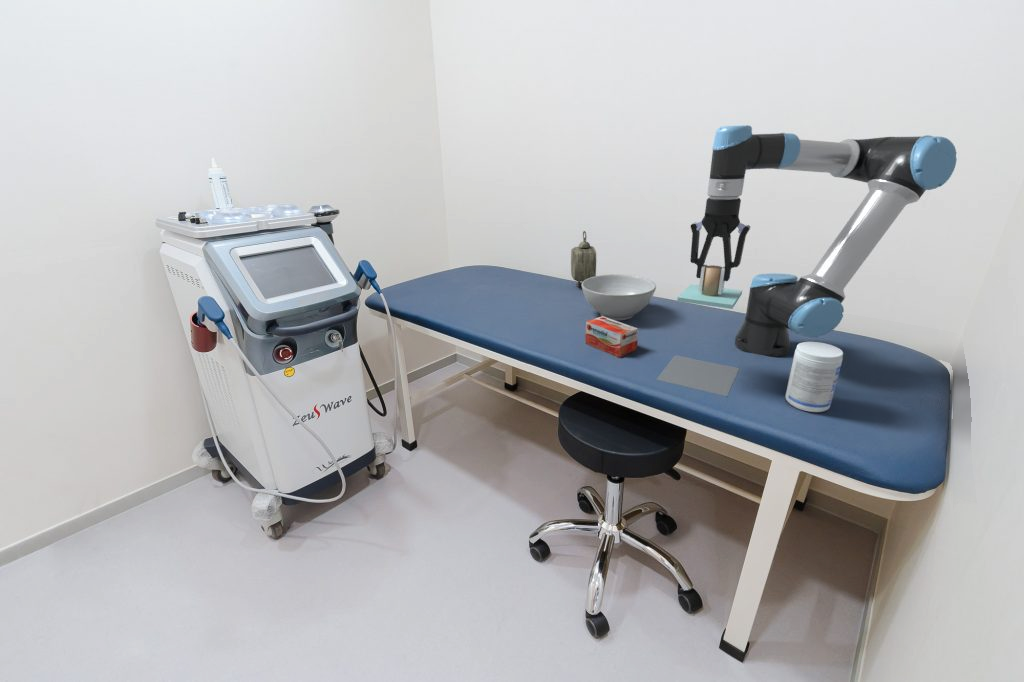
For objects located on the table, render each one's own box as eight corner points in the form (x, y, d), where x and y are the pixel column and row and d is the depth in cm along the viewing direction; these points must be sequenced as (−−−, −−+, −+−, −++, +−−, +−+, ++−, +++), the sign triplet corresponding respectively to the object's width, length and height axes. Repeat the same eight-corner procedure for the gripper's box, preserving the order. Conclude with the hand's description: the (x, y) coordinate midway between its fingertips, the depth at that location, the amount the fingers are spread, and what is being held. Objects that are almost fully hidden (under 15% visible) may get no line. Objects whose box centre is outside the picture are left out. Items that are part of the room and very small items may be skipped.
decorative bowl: (646, 303, 186) (649, 274, 181) (659, 328, 161) (662, 295, 156) (579, 303, 188) (580, 274, 184) (582, 327, 164) (583, 295, 159)
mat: (674, 356, 140) (674, 355, 140) (739, 369, 131) (739, 368, 131) (656, 381, 126) (656, 379, 126) (726, 398, 117) (727, 396, 117)
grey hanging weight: (595, 291, 203) (597, 233, 193) (574, 292, 203) (575, 234, 193) (589, 282, 216) (591, 227, 206) (570, 282, 216) (571, 228, 206)
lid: (690, 287, 128) (693, 259, 125) (741, 294, 121) (746, 264, 118) (677, 301, 118) (680, 270, 115) (732, 308, 111) (737, 276, 108)
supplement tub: (837, 415, 108) (853, 358, 103) (793, 412, 110) (806, 357, 104) (818, 394, 117) (832, 341, 111) (778, 392, 119) (790, 340, 113)
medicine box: (637, 351, 145) (639, 327, 142) (620, 358, 140) (621, 334, 137) (600, 337, 156) (602, 315, 153) (584, 344, 151) (584, 321, 148)
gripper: (683, 197, 111) (673, 291, 120) (761, 200, 102) (744, 300, 112) (691, 194, 117) (680, 283, 126) (766, 196, 108) (749, 292, 117)
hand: (710, 291), depth 119 cm, fingers closed on lid, 4 cm apart
